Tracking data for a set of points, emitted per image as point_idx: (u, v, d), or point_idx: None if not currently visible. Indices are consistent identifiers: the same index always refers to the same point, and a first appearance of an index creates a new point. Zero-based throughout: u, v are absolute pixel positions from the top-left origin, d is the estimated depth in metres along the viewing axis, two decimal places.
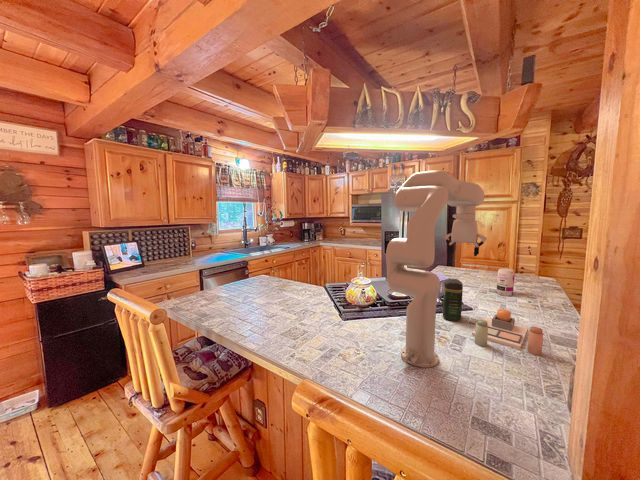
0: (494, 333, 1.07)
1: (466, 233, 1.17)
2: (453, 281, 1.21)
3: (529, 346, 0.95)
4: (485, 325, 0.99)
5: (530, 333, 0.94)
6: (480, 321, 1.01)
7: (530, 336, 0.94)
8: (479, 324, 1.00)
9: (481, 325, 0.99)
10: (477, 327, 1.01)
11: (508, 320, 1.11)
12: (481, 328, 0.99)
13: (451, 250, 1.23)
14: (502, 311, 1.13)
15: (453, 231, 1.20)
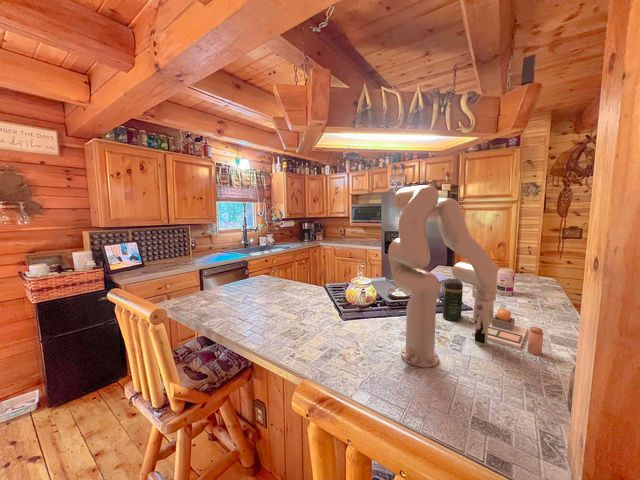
0: (494, 333, 1.07)
1: (492, 312, 0.99)
2: (453, 281, 1.21)
3: (529, 346, 0.95)
4: None
5: (530, 333, 0.94)
6: None
7: (530, 336, 0.94)
8: None
9: None
10: None
11: (508, 320, 1.11)
12: None
13: (484, 339, 0.99)
14: (502, 311, 1.13)
15: (488, 315, 0.95)
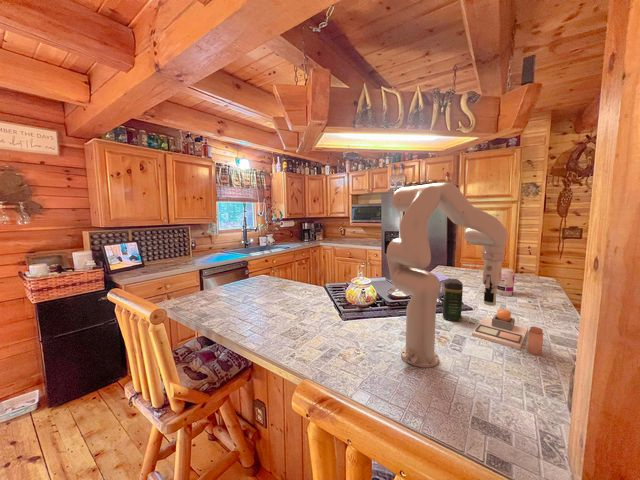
0: (494, 333, 1.07)
1: (500, 273, 1.05)
2: (453, 281, 1.21)
3: (529, 346, 0.95)
4: (494, 285, 1.05)
5: (530, 333, 0.94)
6: None
7: (530, 336, 0.94)
8: None
9: None
10: None
11: (508, 320, 1.11)
12: None
13: (493, 298, 1.05)
14: (502, 311, 1.13)
15: (497, 274, 1.01)
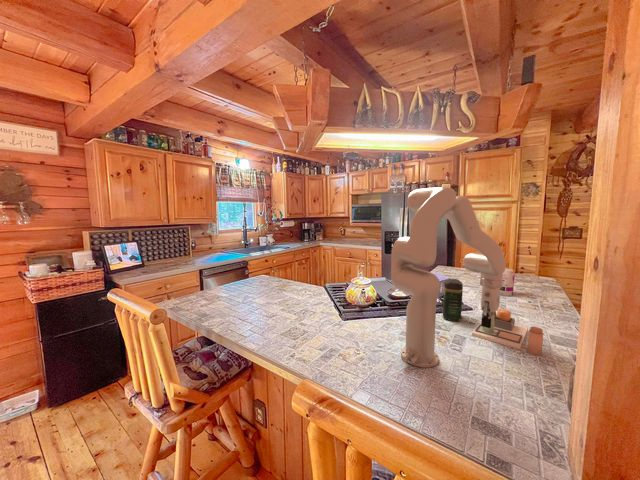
0: (494, 333, 1.07)
1: (498, 299, 1.06)
2: (453, 281, 1.21)
3: (529, 346, 0.95)
4: (492, 313, 1.06)
5: (530, 333, 0.94)
6: None
7: (530, 336, 0.94)
8: None
9: (488, 313, 1.07)
10: None
11: (508, 320, 1.11)
12: None
13: (490, 324, 1.05)
14: (502, 311, 1.13)
15: (495, 301, 1.03)
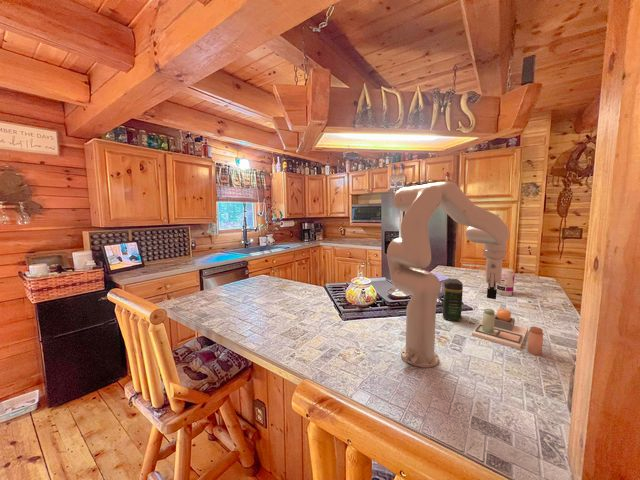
0: (494, 333, 1.07)
1: None
2: (453, 281, 1.21)
3: (529, 346, 0.95)
4: (492, 313, 1.06)
5: (530, 333, 0.94)
6: (487, 310, 1.08)
7: (530, 336, 0.94)
8: (486, 312, 1.07)
9: (488, 313, 1.07)
10: (484, 315, 1.08)
11: (508, 320, 1.11)
12: (488, 316, 1.07)
13: None
14: (502, 311, 1.13)
15: (500, 272, 1.02)
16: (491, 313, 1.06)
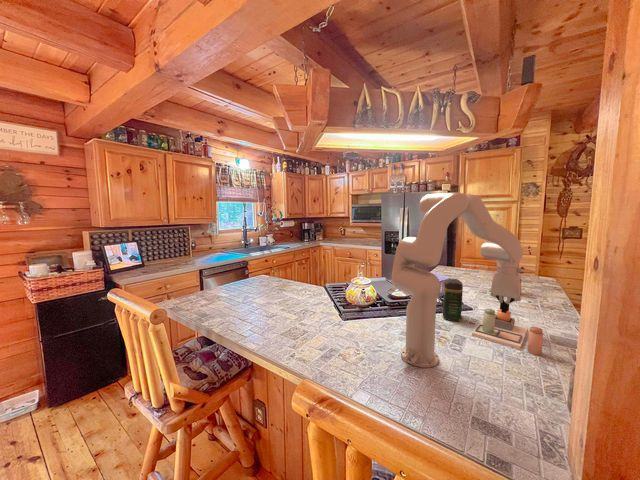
0: (494, 333, 1.07)
1: None
2: (453, 281, 1.21)
3: (529, 346, 0.95)
4: (492, 313, 1.06)
5: (530, 333, 0.94)
6: (488, 310, 1.08)
7: (530, 336, 0.94)
8: (487, 312, 1.07)
9: (489, 313, 1.07)
10: (485, 315, 1.08)
11: (508, 320, 1.11)
12: (488, 316, 1.07)
13: None
14: None
15: None
16: (491, 313, 1.06)
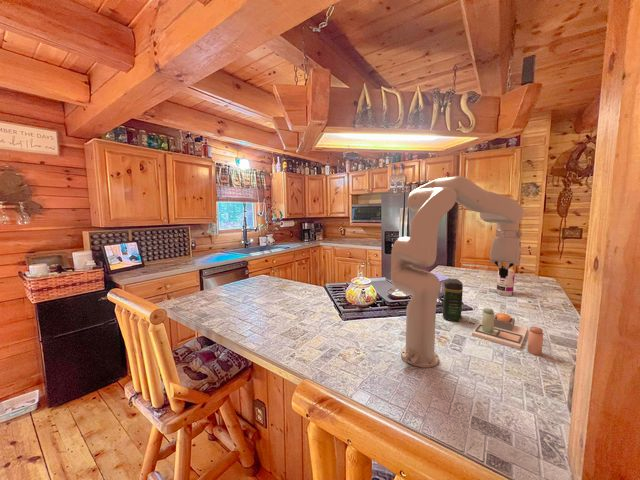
0: (494, 333, 1.07)
1: None
2: (453, 281, 1.21)
3: (529, 346, 0.95)
4: (491, 313, 1.07)
5: (530, 333, 0.94)
6: (486, 309, 1.08)
7: (530, 336, 0.94)
8: (485, 312, 1.08)
9: (487, 313, 1.07)
10: (483, 315, 1.08)
11: None
12: (487, 316, 1.07)
13: None
14: (502, 315, 1.13)
15: None
16: (490, 312, 1.07)
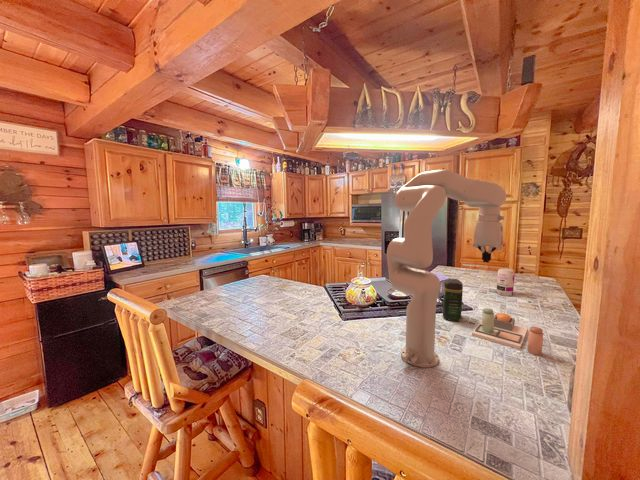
0: (494, 333, 1.07)
1: None
2: (453, 281, 1.21)
3: (529, 346, 0.95)
4: (490, 313, 1.06)
5: (530, 333, 0.94)
6: (486, 309, 1.08)
7: (530, 336, 0.94)
8: (485, 312, 1.08)
9: (486, 313, 1.07)
10: (483, 315, 1.08)
11: None
12: (486, 316, 1.07)
13: None
14: (502, 315, 1.13)
15: None
16: (489, 313, 1.07)
